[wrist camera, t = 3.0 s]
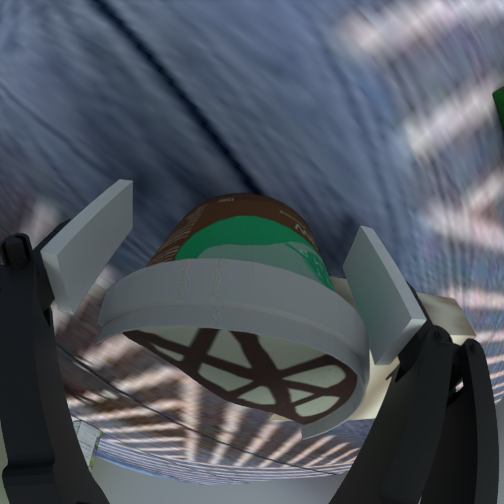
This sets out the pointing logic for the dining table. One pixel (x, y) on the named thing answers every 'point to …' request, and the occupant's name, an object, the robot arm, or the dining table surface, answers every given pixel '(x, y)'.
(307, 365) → the food container
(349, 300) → the birch riser block
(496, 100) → the milk carton
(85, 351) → the dining table surface
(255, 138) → the dining table surface
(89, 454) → the syrup box
